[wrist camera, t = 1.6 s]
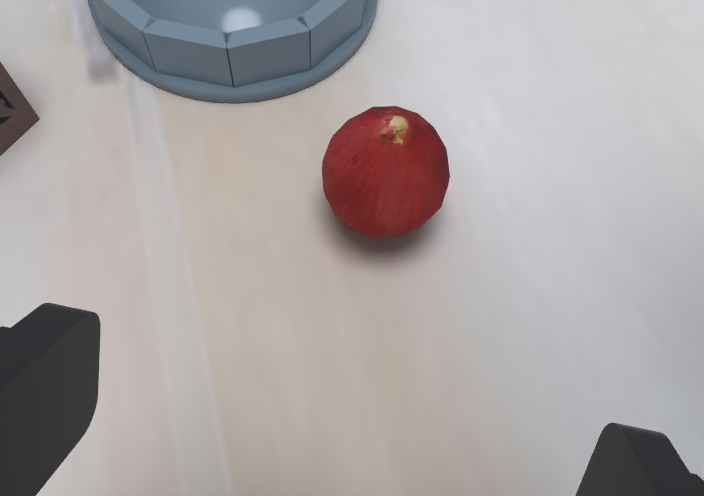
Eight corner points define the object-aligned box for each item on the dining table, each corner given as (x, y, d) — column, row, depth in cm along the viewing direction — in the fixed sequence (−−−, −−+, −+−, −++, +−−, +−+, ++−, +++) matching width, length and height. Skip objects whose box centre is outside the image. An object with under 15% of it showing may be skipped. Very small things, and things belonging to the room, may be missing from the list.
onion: (319, 163, 32) (320, 59, 25) (426, 160, 32) (459, 58, 25) (323, 264, 30) (326, 182, 22) (439, 261, 30) (479, 179, 23)
